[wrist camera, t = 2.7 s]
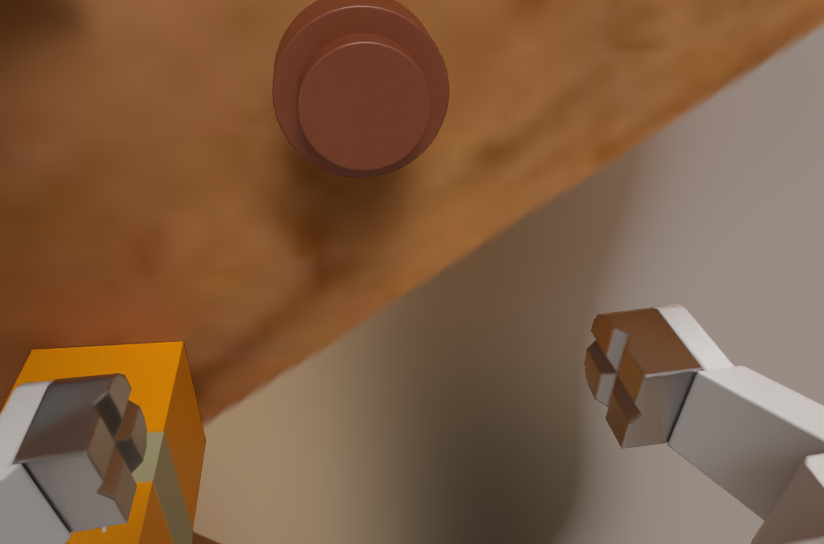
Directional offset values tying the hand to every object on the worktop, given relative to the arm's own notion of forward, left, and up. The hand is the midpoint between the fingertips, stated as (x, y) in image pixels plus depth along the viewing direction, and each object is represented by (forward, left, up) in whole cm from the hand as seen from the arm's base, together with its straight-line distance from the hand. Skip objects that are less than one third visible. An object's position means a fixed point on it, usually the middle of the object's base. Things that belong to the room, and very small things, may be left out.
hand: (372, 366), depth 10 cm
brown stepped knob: (-1, +1, -17) cm, 17 cm away
